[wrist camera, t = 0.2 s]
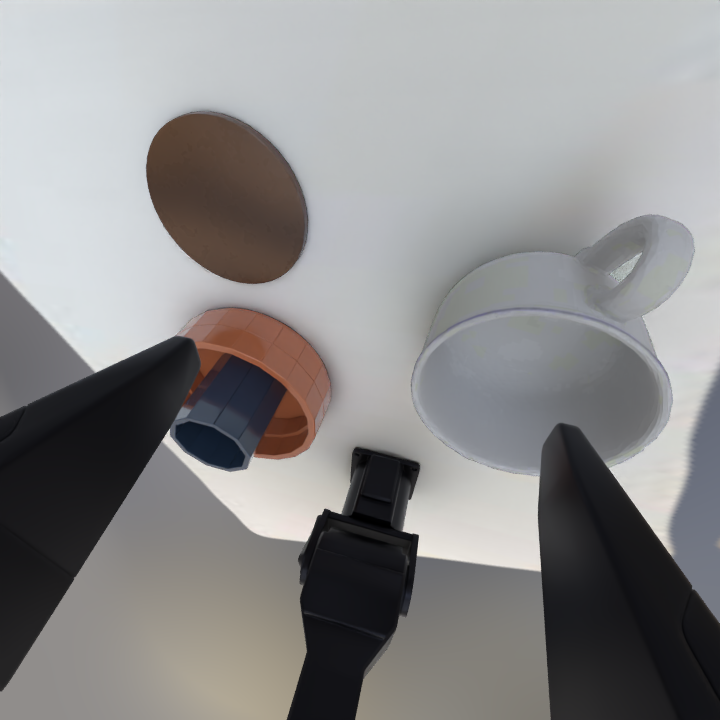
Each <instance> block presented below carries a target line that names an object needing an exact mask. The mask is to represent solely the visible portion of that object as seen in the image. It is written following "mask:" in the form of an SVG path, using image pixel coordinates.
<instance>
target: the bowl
mask: <svg viewBox="0 0 720 720" xmlns="http://www.w3.org/2000/svg"><path fill="white" fill-rule="evenodd" d="M176 336H183V337H188V338H191V339H193V340H194V342H195V344H196V347H197V350H198V354H199V357H200V360H201V367H200V370H199V373H198V375H197V377H196V379H195V381H194V383H193V385H192V387H191V389H190V391H189V393H188V395H187V397H186V399H185V401H184V403H183V405H184V404H185V403H186V401H187V400H188V399H189V397H190V396H191V395H192V393H193V392H194V391H195V389H196V388H197V387H198V386H199V384H200V383H201V382H202V380H203V379H204V378H205V376H206V375H207V374H208V372H209V371H210V370H211V369H212V367H213V366H214V365H215V363H216V362H217V361H218V359H219V358H220V357H221V356H222V355H223V354H225V353H228V354H232V355H234V356H236V357H238V358H241V359H243V360H245V361H247V362H249V363H252V364H254V365H256V366H258V367H260V368H261V369H263V370H264V371H265V372H267V373H268V374H270V375H271V376H272V377H274V378H275V379H277V380H278V381H279V382H281V383H282V384H283V385H284V386H285V387H286V389H287V390H288V391H287V393H286V396H285V398H284V400H283V402H282V404H281V406H280V408H279V410H278V411H277V413H276V415H275V417H274V419H273V421H272V423H271V425H270V426H269V428H268V430H267V432H266V434H265V436H264V438H263V440H262V442H261V443H260V445H259V447H258V449H257V451H256V453H255V455H254V457H258V458H266V459H285V458H291V457H295V456H297V455H299V454H301V453H302V452H304V451H306V450H307V449H309V447H310V445H311V444H312V442H313V440H314V438H315V436H316V434H317V432H318V429H319V427H320V424H321V422H322V420H323V417H324V415H325V412H326V410H327V408H328V405H329V403H330V400H331V383H330V380H329V378H328V374H327V371H326V368H325V366H324V364H323V362H322V360H321V358H320V357H319V355H318V354H317V353H316V351H315V350H314V349H313V348H312V346H311V345H310V344H309V343H308V342H307V341H306V340H305V339H304V338H302V337H301V336H300V335H299V334H298V333H297V332H295V331H294V330H292V329H291V328H290V327H288V326H286V325H285V324H283V323H281V322H280V321H278V320H276V319H274V318H272V317H269V316H267V315H264V314H261V313H259V312H255V311H251V310H247V309H240V308H222V309H217V310H208V311H206V312H204V313H202V314H200V315H198V316H196V317H194V318H192V319H191V320H190V321H189V322H188V323H187V324H186V325H185V326H184V327H183V329H182V330H181V331H180V332H179V333H178V334H177V335H176ZM183 405H182V406H183ZM181 408H182V407H181Z"/></svg>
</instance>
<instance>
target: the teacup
mask: <svg viewBox="0 0 720 720" xmlns="http://www.w3.org/2000/svg"><path fill="white" fill-rule="evenodd" d="M641 252H642V255H641V257H640V258H639V260H638V262H637V263H636V265H635V267H634V268H633V270H632V272H631V273H630V274H629V275H628V276H627V277H626V278H625V279H624V280H623V281H622V282H621V283H619V282H618V281H617V280H616V279H615V278H614V277H612V276H611V275H610V273H611V272H612V271H614V270H615V269H616V268H618V267H619V266H621V265H622V264H624V263H626V262H627V261H629V260H630V259H632V258H633V257H635V256H636V255H638V254H639V253H641ZM694 252H695V249H694V240H693V237H692V234H691V233H690V231H689V230H688V229H687V228H686V227H685V226H684V225H683V224H681V223H679V222H677V221H674V220H672V219H669V218H666V217H664V216H659V215H644V216H640V217H636V218H634V219H632V220H630V221H628V222H626V223H623V224H621V225H620V226H618V227H617V228H616V229H614V230H613V231H611V232H610V233H608V234H607V235H606V236H604V237H603V238H602V239H601V240H599V241H598V242H597V243H595V244H594V245H593V246H591V247H587V248H584V249H582V250H581V251H580V252H579V253H578V254H577V255H576V256H570V255H566V254H561V253H554V252H541V251H537V252H523V253H516V254H511V255H507V256H503V257H501V258H498V259H495V260H492V261H490V262H488V263H485V264H483V265H481V266H480V267H478V268H476V269H475V270H473V271H472V272H470V273H469V274H467V275H466V276H465V277H464V278H462V279H461V280H460V281H459V282H458V283H457V284H456V285H455V286H454V287H453V288H452V289H451V290H450V292H449V293H448V294H447V296H446V297H445V299H444V300H443V302H442V304H441V305H440V307H439V309H438V311H437V313H436V316H435V318H434V320H433V323H432V325H431V328H430V330H429V333H428V336H427V339H426V342H425V345H424V348H423V351H422V353H421V354H420V356H419V358H418V359H417V361H416V364H415V367H414V371H413V374H412V380H411V392H412V399H413V403H414V406H415V408H416V411H417V413H418V414H419V416H420V418H421V420H422V421H423V423H424V424H425V425H426V426H427V428H428V429H429V430H430V431H431V432H432V433H433V434H434V435H435V436H436V437H437V438H438V439H440V440H441V441H442V442H443V443H444V444H445V445H447V446H448V447H450V448H451V449H453V450H455V451H456V452H457V453H459V454H460V455H462V456H463V457H465V458H467V459H469V460H473V461H475V462H478V463H480V464H483V465H486V466H488V467H491V468H493V469H497V470H502V471H506V472H510V473H515V474H523V475H531V476H540V468H541V452H542V447H543V444H544V442H545V440H546V439H547V437H548V436H549V434H550V433H551V431H552V430H553V428H554V427H555V425H556V424H558V423H566V424H570V425H574V426H577V427H578V428H580V429H581V431H582V432H583V433H584V435H585V436H586V438H587V439H588V440H589V442H590V443H591V445H592V446H593V447H594V449H595V450H596V452H597V453H598V454H599V456H600V457H601V459H602V460H603V461H604V463H605V464H606V466H607V467H608V468H610V467H612V466H614V465H616V464H619V463H622V462H624V461H626V460H628V459H630V458H632V457H634V456H635V455H636V454H638V453H640V452H642V451H643V450H644V449H645V447H646V446H648V445H649V444H650V443H651V442H653V441H654V440H655V439H656V438H657V437H658V435H659V434H660V433H661V432H662V430H663V429H664V427H665V426H666V424H667V422H668V420H669V417H670V412H671V406H672V402H673V398H672V389H671V384H670V381H669V377H668V374H667V372H666V371H665V369H664V367H663V366H662V364H661V363H660V361H659V360H658V358H657V356H656V353H655V350H654V347H653V344H652V341H651V339H650V336H649V333H648V330H647V328H646V325H645V322H644V320H643V318H642V316H643V315H645V314H647V313H649V312H650V311H652V310H654V309H655V308H657V307H658V306H659V305H661V304H662V303H663V302H664V301H666V300H667V299H668V298H669V297H670V296H671V295H672V294H673V293H674V292H675V290H676V289H677V288H678V287H679V286H680V284H681V283H682V281H683V280H684V278H685V276H686V275H687V273H688V271H689V269H690V266H691V263H692V259H693V256H694Z"/></svg>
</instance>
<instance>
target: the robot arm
mask: <svg viewBox="0 0 720 720" xmlns="http://www.w3.org/2000/svg"><path fill="white" fill-rule="evenodd" d="M200 367H201V360H200V357H199V354H198V350H197V347H196V344H195V342H194V340H193V339H191V338H188V337H183V336H174V337H172V338H170V339H168V340H166V341H163V342H161V343H159V344H157V345H155V346H153V347H151V348H148V349H146V350H144V351H142V352H140V353H138V354H135V355H133V356H131V357H129V358H127V359H125V360H123V361H120V362H118V363H116V364H114V365H112V366H110V367H107V368H105V369H103V370H101V371H99V372H97V373H95V374H92V375H90V376H88V377H86V378H84V379H82V380H80V381H77V382H75V383H73V384H71V385H69V386H66V387H65V388H62V389H60V390H58V391H56V392H54V393H51V394H49V395H47V396H45V397H43V398H41V399H39V400H36V401H34V402H32V403H30V404H28V406H23V407H21V408H19V409H17V410H15V411H12V412H10V413H8V414H6V415H4V416H1V417H0V691H2V690H3V689H4V688H5V687H6V685H7V684H8V683H9V681H10V680H11V678H12V677H13V675H14V673H15V672H16V670H17V669H18V667H19V666H20V664H21V662H22V661H23V659H24V657H25V656H26V654H27V653H28V651H29V650H30V648H31V647H32V645H33V643H34V642H35V640H36V638H37V637H38V636H39V634H40V632H41V631H42V629H43V628H44V626H45V624H46V623H47V621H48V620H49V618H50V616H51V615H52V614H53V612H54V610H55V608H56V607H57V606H58V604H59V602H60V601H61V599H62V598H63V596H64V595H65V593H66V591H67V590H68V588H69V587H70V585H71V584H72V582H73V580H74V577H76V575H77V574H78V572H79V571H80V569H81V567H82V566H83V564H84V563H85V561H86V559H87V558H88V556H89V555H90V553H91V551H92V550H93V548H94V547H95V545H96V544H97V542H98V540H99V539H100V537H101V536H102V534H103V533H104V531H105V530H106V528H107V526H108V525H109V523H110V522H111V520H112V518H113V517H114V515H115V514H116V512H117V511H118V509H119V507H120V506H121V504H122V503H123V501H124V500H125V498H126V496H127V495H128V493H129V492H130V490H131V489H132V487H133V485H134V484H135V482H136V481H137V479H138V477H139V476H140V474H141V473H142V471H143V470H144V468H145V466H146V465H147V463H148V462H149V460H150V458H151V457H152V455H153V454H154V452H155V451H156V449H157V448H158V446H159V444H160V443H161V441H162V440H163V438H164V436H165V435H166V433H167V432H168V430H169V429H170V427H171V425H172V424H173V422H174V420H175V419H176V417H177V415H178V413H179V411H180V409H181V407H182V405H183V403H184V401H185V399H186V397H187V395H188V393H189V391H190V389H191V387H192V385H193V383H194V381H195V379H196V377H197V375H198V373H199V370H200ZM419 471H420V465H419V464H417V463H414V462H410V461H406V460H402V459H398V458H395V457H391V456H387V455H383V454H379V453H375V452H371V451H367V450H363V449H359V448H355V449H354V450H353V453H352V466H351V480H350V483H351V484H350V488H349V491H348V494H347V497H346V501H345V504H344V507H343V510H342V514H338V513H335V512H331V511H330V510H328V509H324V511H323V514H322V515H319V516H318V517H317V520H316V522H315V525H314V528H313V531H312V533H311V535H310V537H309V539H308V541H307V542H306V544H305V546H304V548H303V550H302V551H301V554H300V555H299V558H298V562H299V565H300V567H301V571H300V574H301V575H300V584H301V585H304V586H303V589H302V593H301V597H300V604H301V612H302V619H303V627H304V633H305V641H306V648H307V653H306V657H305V661H304V664H303V667H302V671H301V674H300V677H299V681H298V684H297V688H296V691H295V694H294V698H293V701H292V704H291V707H290V711H289V714H288V717H287V720H355V717H356V712H357V707H358V702H359V697H360V692H361V687H362V682H363V679H364V677H365V676H366V675H367V674H368V672H369V671H370V670H371V669H372V667H373V666H374V665H375V664H376V662H377V661H378V660H379V659H380V657H381V656H382V655H383V653H384V652H385V651H386V650H387V648H388V647H389V645H390V642H391V640H392V638H393V635H394V633H395V630H396V627H397V623H398V617H399V616H402V617H406V616H407V612H408V609H409V604H410V600H411V595H412V589H413V582H414V574H415V566H416V557H417V548H418V539H419V535H417V534H414V533H413V534H410V533H406V532H402V531H403V526H404V520H405V515H406V509H407V504H408V500H410V499H411V497H412V494H413V491H414V487H415V484H416V481H417V477H418V474H419ZM538 527H539V542H540V558H541V573H542V589H543V605H544V620H545V635H546V651H547V667H548V681H549V682H548V683H549V698H550V712H551V720H720V623H719V622H718V621H717V619H716V618H715V616H714V615H713V614H712V613H711V611H710V610H709V608H708V607H707V606H706V604H705V603H704V601H703V600H702V598H701V597H700V596H699V594H698V593H697V592H696V591H695V590H693V589H692V585H691V584H690V582H689V581H688V579H687V578H686V577H685V575H684V574H683V572H682V571H681V569H680V568H679V567H678V565H677V564H676V562H675V561H674V560H673V558H672V557H671V555H670V554H669V553H668V551H667V550H666V548H665V547H664V546H663V544H662V543H661V541H660V540H659V539H658V537H657V536H656V534H655V533H654V532H653V530H652V529H651V527H650V526H649V524H648V523H647V522H646V520H645V519H644V517H643V516H642V515H641V513H640V512H639V510H638V509H637V508H636V506H635V505H634V503H633V502H632V501H631V499H630V498H629V496H628V495H627V494H626V492H625V491H624V489H623V488H622V487H621V485H620V484H619V482H618V481H617V480H616V478H615V477H614V475H613V474H612V473H611V471H610V470H609V468H608V467H607V466H606V464H605V463H604V461H603V460H602V459H601V457H600V456H599V454H598V453H597V452H596V450H595V449H594V447H593V446H592V445H591V443H590V442H589V440H588V439H587V438H586V436H585V435H584V433H583V432H582V431H581V429H580V428H578V427H577V426H574V425H570V424H566V423H558V424H556V425H555V427H554V428H553V430H552V431H551V433H550V434H549V436H548V437H547V439H546V440H545V442H544V444H543V447H542V452H541V468H540V484H539V501H538Z"/></svg>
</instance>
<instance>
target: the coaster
mask: <svg viewBox="0 0 720 720" xmlns="http://www.w3.org/2000/svg"><path fill="white" fill-rule="evenodd" d="M146 173H147V183H148V189H149V192H150V196H151V199H152V202H153V205H154V208H155V210H156V212H157V214H158V216H159V218H160V220H161V222H162V223H163V225H164V227H165V228H166V230H167V231H168V233H169V234H170V235H171V237H172V238H173V239H174V241H175V242H176V243H177V244H178V245H179V247H180V248H181V249H182V250H183V251H184V252H185V253H186V254H187V255H189V256H190V257H191V258H192V259H193V260H194V261H196V262H197V263H198V264H200V265H201V266H203V267H204V268H206V269H207V270H209V271H211V272H212V273H214V274H216V275H219V276H221V277H223V278H226V279H229V280H232V281H236V282H240V283H247V284H258V283H265V282H269V281H272V280H275V279H277V278H279V277H281V276H282V275H284V274H285V273H286V272H287V271H288V270H289V269H291V268H292V266H293V265H294V264H295V262H296V261H297V260H298V258H299V257H300V255H301V253H302V251H303V248H304V245H305V242H306V238H307V231H308V218H307V209H306V205H305V200H304V197H303V194H302V191H301V188H300V185H299V183H298V181H297V179H296V177H295V175H294V173H293V171H292V170H291V168H290V166H289V165H288V163H287V162H286V160H285V159H284V158H283V156H282V155H281V154H280V153H279V151H278V150H277V149H276V148H275V147H274V146H273V145H272V144H271V143H270V142H269V141H268V140H267V139H266V138H265V137H263V136H262V135H261V134H260V133H259V132H257V131H256V130H254V129H253V128H252V127H250V126H249V125H247V124H245V123H243V122H241V121H239V120H237V119H235V118H233V117H230V116H227V115H224V114H220V113H215V112H205V111H199V112H192V113H188V114H185V115H182V116H179V117H177V118H175V119H173V120H171V121H169V122H168V123H166V124H165V125H164V126H163V127H162V128H161V129H160V130H159V131H158V133H157V134H156V135H155V137H154V139H153V141H152V143H151V145H150V148H149V152H148V156H147V164H146Z"/></svg>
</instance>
